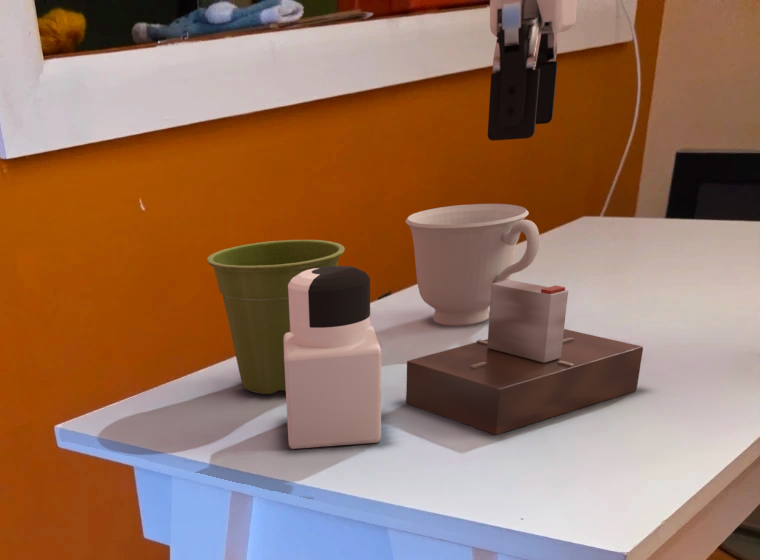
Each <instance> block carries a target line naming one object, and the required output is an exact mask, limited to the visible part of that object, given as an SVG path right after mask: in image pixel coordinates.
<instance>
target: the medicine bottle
mask: <svg viewBox="0 0 760 560" xmlns="http://www.w3.org/2000/svg"><path fill="white" fill-rule="evenodd" d="M288 295H289V315H290V332H288V333H286V334H285V335H284V365H285V384H286V391H285V401H286V418H287V419H286V420H287V439H288V440H287V441H288V447H289V448H290V449H291V450H298V449H309V448H311V449H312V448H323V447H324V448H325V447H337V446H349V445H351V446H352V445H363V444H364V445H365V444H375V443H380V441H381V439H382V349H381V346H380V343H379V340H378V337H377V334H376V332H375V331H376V330H375V329H374V327H373V326H372V325H371V277H370V275H368V273H367V272H366V271H364V270H363V269H360V268H357V267H354V266H349V265H337V266H328V267H319V268H314V269H309V270H306V271H303V272H301V273H300V274H298V275H297V276H295V277H293V278H292V279H291V281H290V282H289V284H288Z"/></svg>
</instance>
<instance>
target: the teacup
mask: <svg viewBox="0 0 760 560" xmlns="http://www.w3.org/2000/svg"><path fill="white" fill-rule="evenodd" d="M529 214H530V213H529V211H528V210H527V208H525V207H524V206H521V205H515V204H509V203H508V204H507V203H471V204H459V205H458V204H457V205H449V206H442V207H435V208H430V209H425V210H421V211H418V212H415V213H412V214H410V215H408V217H407V218H406V219H405V220H404V221H405V224H406V225H407V226H408V227H409V229H410V232H411V235H412V236H411V237H412V243H413V250H414V261H415V270H416V271H415V274H416V281H417V288H418V292H419V296H420V297H421V299H422V300H423V302H424V303H425V304H426V305H428V306H429V307H431V308H433V309H434V315H433V321H434V322H435V323H437V324H440V325H444V326H445V325H446V326H468V325H469V326H470V325H474V324H475V325H476V324H479V323H483V322H485V321H487V320H489V314H490V312H489V308H490V299H491V284H493V283H497V282H501V281H505V280H510V277H511V275H513V274H516V273H519V272H522V271H523V270H525V269H527V268H528V267H529V266H530V265H531V264H532V263H533V262H534V261H535V259H536V257H537V255H538V252H539V250H540V249H539V248H540V239H541V238H540V232H539V228H538V226H537V224H536V223H534V222H533V221H532V220H529V219H526V218H527V217H528V216H529ZM522 233H523V234H524V235H525V238H526V248H525V252H524V253H523V255H522V256H521V258H520V259H519V260H518V261H516V262H515V263H514V258H515V252H516V247H517V243H518V241H519V240H520V236H521V234H522Z"/></svg>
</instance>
